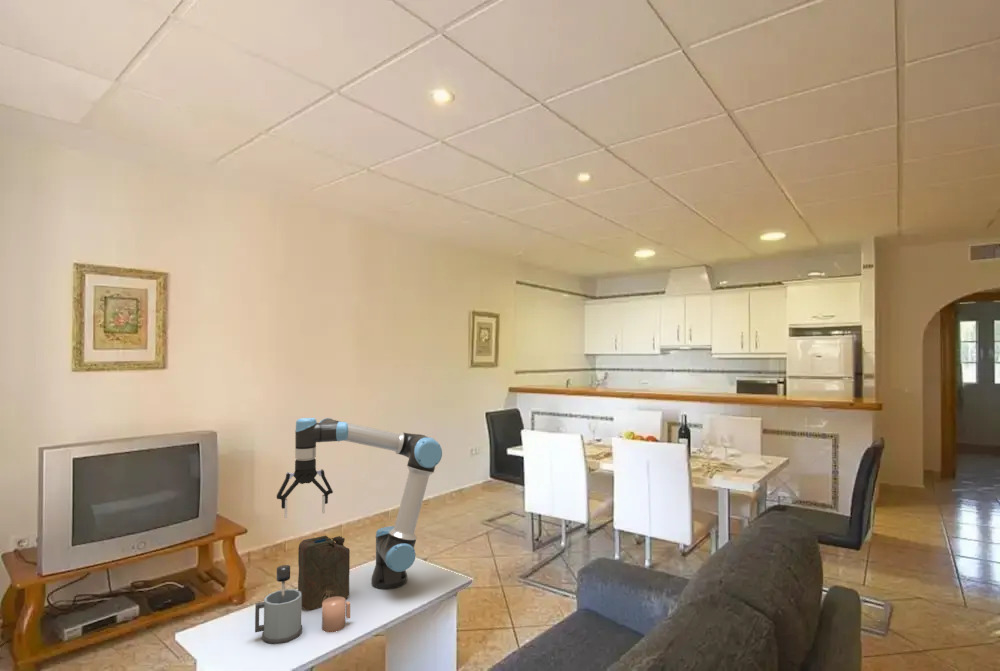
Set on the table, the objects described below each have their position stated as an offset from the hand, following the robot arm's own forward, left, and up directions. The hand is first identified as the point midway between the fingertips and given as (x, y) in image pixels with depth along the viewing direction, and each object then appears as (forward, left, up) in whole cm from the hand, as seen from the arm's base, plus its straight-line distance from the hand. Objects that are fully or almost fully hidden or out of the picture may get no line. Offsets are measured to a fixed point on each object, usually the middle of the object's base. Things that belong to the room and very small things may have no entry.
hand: (304, 514), depth 204 cm
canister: (-8, -6, -37) cm, 38 cm away
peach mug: (-9, +16, -37) cm, 41 cm away
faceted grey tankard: (+9, +14, -37) cm, 40 cm away
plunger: (+8, +14, -32) cm, 36 cm away
